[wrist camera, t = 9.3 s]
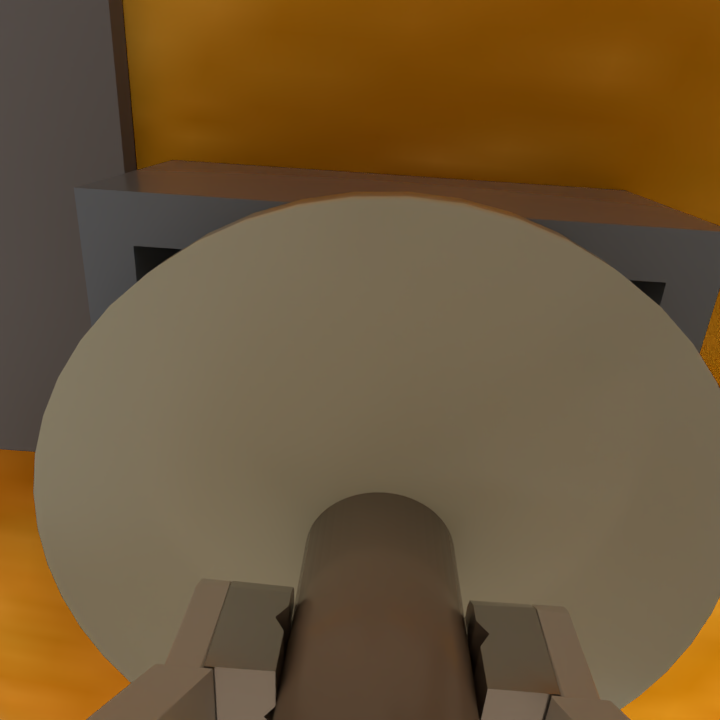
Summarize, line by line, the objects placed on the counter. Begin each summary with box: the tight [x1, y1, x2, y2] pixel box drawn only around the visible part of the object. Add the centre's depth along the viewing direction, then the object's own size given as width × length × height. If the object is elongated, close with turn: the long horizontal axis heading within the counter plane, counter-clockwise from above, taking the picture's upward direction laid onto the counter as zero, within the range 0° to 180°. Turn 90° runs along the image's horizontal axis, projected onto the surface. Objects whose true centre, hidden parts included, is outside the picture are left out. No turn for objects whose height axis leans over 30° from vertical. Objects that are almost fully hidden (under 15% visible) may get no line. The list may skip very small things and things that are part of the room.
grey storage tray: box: [74, 160, 720, 353], centre depth 16 cm, size 12×12×6 cm
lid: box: [33, 191, 720, 720], centre depth 10 cm, size 13×13×5 cm
